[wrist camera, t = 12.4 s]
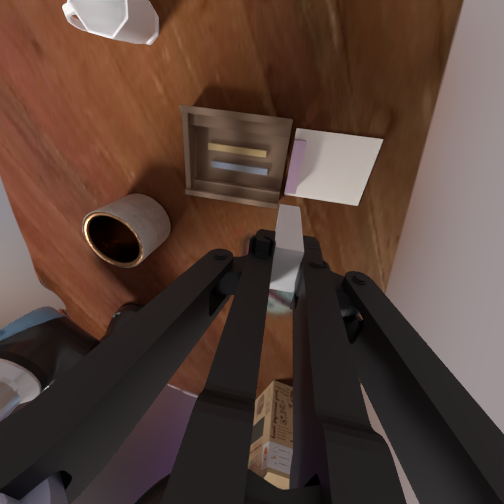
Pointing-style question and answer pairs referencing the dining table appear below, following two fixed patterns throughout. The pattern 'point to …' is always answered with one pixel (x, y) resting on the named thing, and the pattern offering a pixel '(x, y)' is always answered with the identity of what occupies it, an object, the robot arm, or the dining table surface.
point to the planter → (127, 230)
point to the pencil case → (234, 155)
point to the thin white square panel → (330, 166)
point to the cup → (115, 19)
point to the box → (273, 435)
